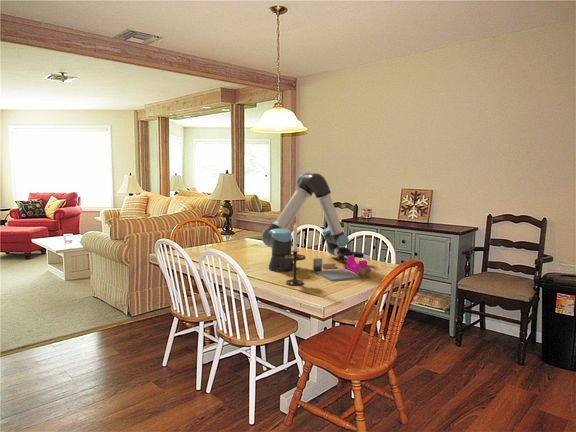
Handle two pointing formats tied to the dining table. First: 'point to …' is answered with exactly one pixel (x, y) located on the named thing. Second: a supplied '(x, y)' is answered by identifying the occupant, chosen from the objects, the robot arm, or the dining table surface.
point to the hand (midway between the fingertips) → (360, 259)
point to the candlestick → (294, 259)
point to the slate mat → (338, 275)
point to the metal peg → (317, 264)
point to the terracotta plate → (328, 265)
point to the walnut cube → (364, 272)
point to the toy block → (355, 264)
